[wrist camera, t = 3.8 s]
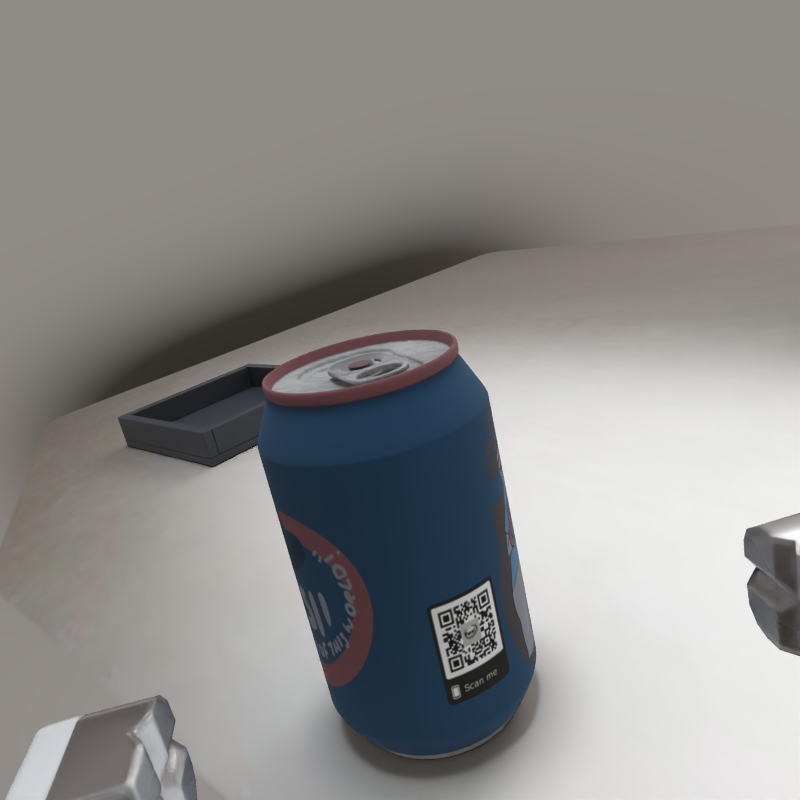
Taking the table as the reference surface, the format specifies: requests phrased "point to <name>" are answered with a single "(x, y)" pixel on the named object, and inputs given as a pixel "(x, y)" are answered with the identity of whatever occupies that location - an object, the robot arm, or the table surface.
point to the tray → (203, 418)
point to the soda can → (401, 538)
